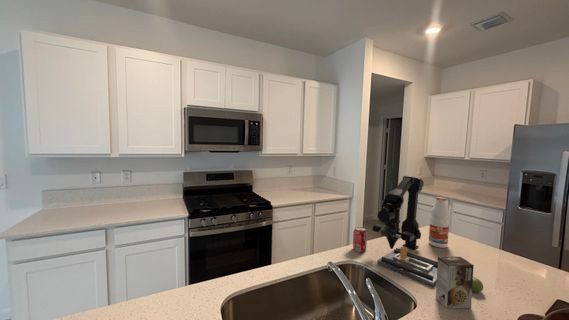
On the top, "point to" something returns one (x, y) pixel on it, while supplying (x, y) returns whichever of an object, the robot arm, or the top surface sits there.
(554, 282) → the top surface
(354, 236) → the soda can
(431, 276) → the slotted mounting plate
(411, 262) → the panel
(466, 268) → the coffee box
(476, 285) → the pear
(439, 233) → the fruit juice
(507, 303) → the top surface
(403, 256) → the breaker lever
